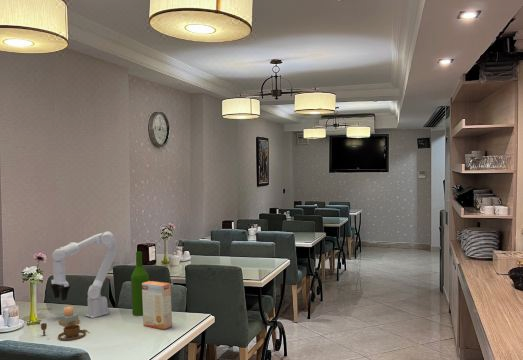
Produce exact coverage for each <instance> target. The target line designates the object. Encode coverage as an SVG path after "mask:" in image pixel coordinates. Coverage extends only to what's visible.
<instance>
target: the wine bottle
mask: <svg viewBox="0 0 523 360" xmlns="http://www.w3.org/2000/svg"><path fill="white" fill-rule="evenodd" d="M135 264H136V265H135V267H134V270H133V271H132V274H131V276H130V285H131V308H132V315H133V316H136V317H143V299H142V283H144V282H148V281H150V280H149V277H150V276H149V273H148V272H147V270H146V268H145V267H144V266H143V252H142V251H139V250H138V251H136V252H135Z"/></svg>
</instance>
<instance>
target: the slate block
mask: <svg viewBox="0 0 523 360" xmlns="http://www.w3.org/2000/svg"><path fill="white" fill-rule="evenodd" d="M78 319H79V314H77V313H74V315H72V316H67V317H66V316H64V314H62V315H60V320H61V321H63V322H66V323H68V322H72V321H75V320H78Z"/></svg>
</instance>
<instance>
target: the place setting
mask: <svg viewBox="0 0 523 360" xmlns="http://www.w3.org/2000/svg"><path fill="white" fill-rule="evenodd" d="M47 326H48V325H47V323H46V322H44V323H41V324H40V329H41V331H42V334H43V335H42V336H43V337H44V336H46V330H47V328H48V327H47ZM80 327H81V326H80V325H79V324H77V325H70V326H66V327H64V326H63V332H61V333H58V335H57V338H58V340H60V341H63V342H64V341H65V342H68V341H76V340H80V339H82V338H84V337H85V336H86V333H88V334H91V332H90V331H88V330H87V329H80ZM79 334H81V335H79ZM78 335H79V336H78ZM63 336H65V337H66V338H65V337H63ZM46 339H47V341H48V340H50V339H51V338H46Z"/></svg>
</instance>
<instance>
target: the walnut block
mask: <svg viewBox="0 0 523 360" xmlns="http://www.w3.org/2000/svg"><path fill="white" fill-rule="evenodd" d="M80 320H81V319H80V318H78V320H75V321H72V322H68V323H66V322H63V321H61V319H60V320H58V323H59V326H62V327H63V328H64V327H66V326H70V325H79V324H80Z"/></svg>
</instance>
